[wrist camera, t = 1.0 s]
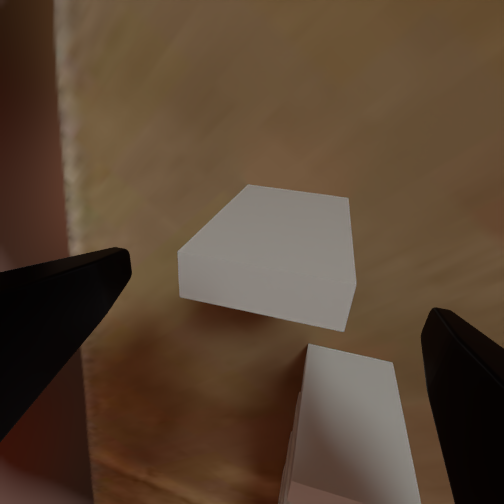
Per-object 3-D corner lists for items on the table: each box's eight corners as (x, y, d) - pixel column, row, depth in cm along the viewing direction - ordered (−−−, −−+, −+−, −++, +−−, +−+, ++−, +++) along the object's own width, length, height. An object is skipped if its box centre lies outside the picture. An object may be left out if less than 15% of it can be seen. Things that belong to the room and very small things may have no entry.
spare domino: (248, 184, 16) (177, 251, 9) (348, 197, 15) (356, 284, 8) (246, 215, 17) (179, 299, 10) (341, 229, 16) (343, 334, 9)
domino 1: (308, 343, 19) (291, 480, 12) (392, 362, 18) (425, 522, 12) (304, 362, 20) (286, 502, 13) (385, 381, 19) (411, 542, 12)
